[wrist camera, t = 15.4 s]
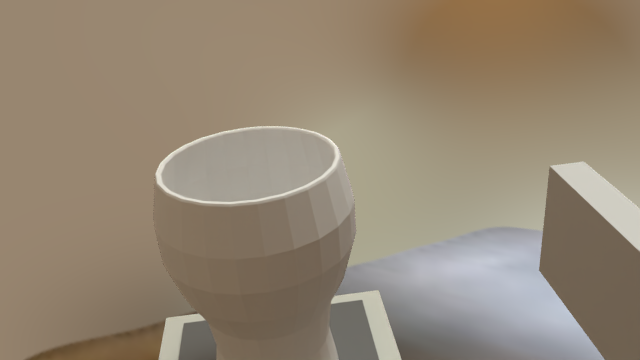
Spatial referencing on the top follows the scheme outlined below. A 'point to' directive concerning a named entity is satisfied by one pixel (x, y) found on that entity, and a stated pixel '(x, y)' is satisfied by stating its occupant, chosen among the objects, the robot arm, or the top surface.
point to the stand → (345, 324)
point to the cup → (258, 238)
